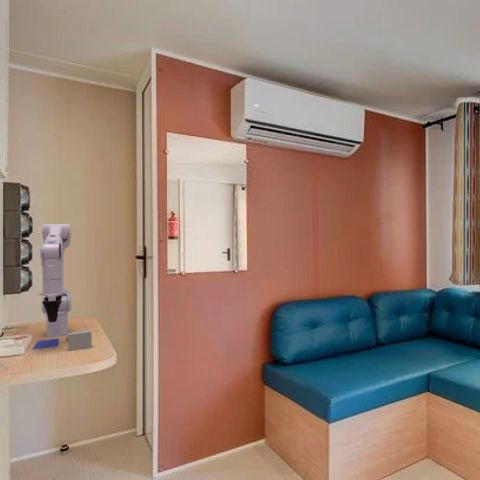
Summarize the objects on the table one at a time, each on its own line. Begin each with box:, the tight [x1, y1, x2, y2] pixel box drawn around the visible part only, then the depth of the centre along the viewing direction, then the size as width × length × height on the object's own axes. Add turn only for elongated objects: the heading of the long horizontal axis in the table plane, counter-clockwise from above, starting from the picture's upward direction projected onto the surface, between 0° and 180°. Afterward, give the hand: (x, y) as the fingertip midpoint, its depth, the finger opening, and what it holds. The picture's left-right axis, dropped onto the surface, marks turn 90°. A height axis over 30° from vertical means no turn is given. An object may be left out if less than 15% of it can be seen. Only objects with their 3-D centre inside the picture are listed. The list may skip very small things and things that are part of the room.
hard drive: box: [32, 338, 60, 351], centre depth 125 cm, size 2×8×12 cm
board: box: [67, 330, 93, 352], centre depth 119 cm, size 2×7×6 cm, turn 116°
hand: (53, 319), depth 122 cm, fingers open, 7 cm apart
